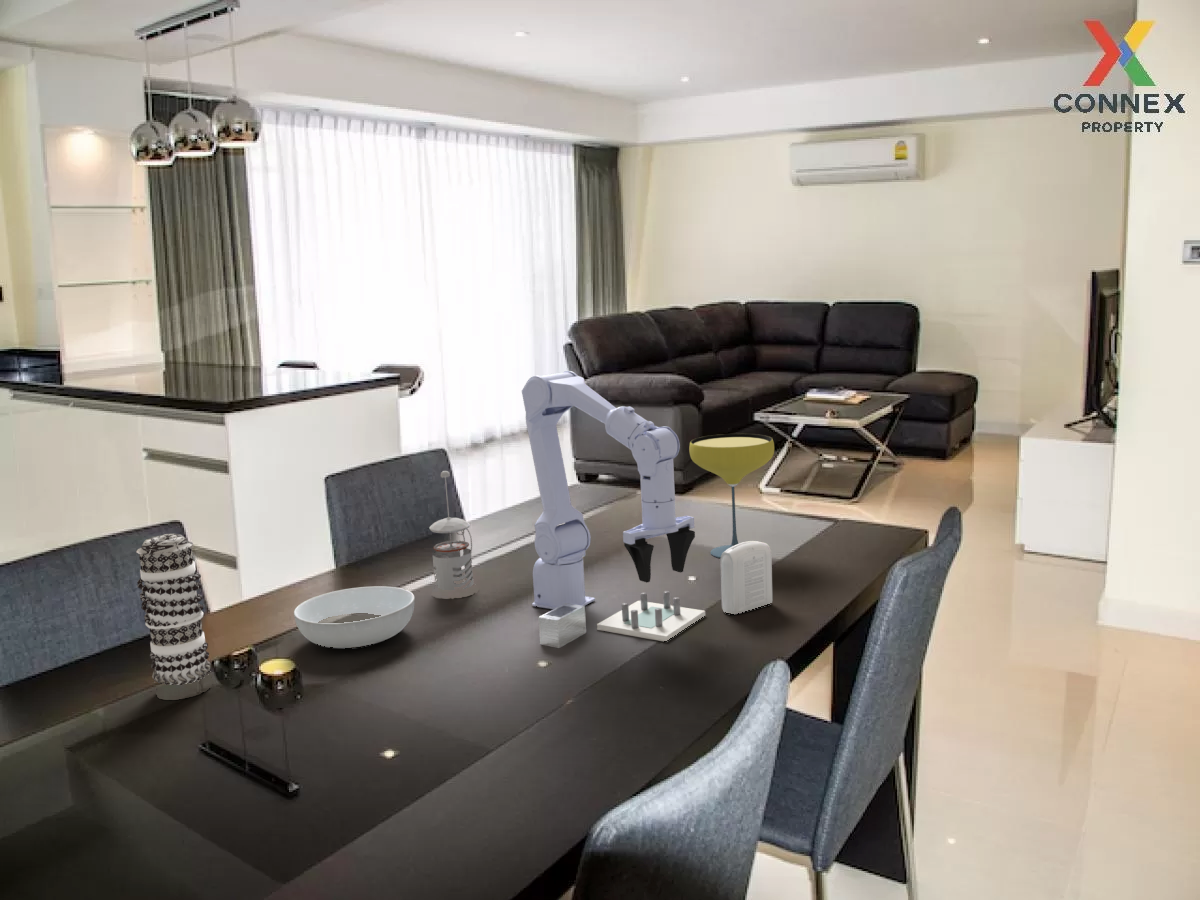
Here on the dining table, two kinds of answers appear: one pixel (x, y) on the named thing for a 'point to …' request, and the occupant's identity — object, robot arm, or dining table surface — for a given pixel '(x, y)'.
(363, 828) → the dining table surface
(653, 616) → the dock
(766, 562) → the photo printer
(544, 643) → the block
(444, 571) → the french press
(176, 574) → the decorative candle
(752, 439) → the cocktail glass
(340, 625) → the serving bowl
